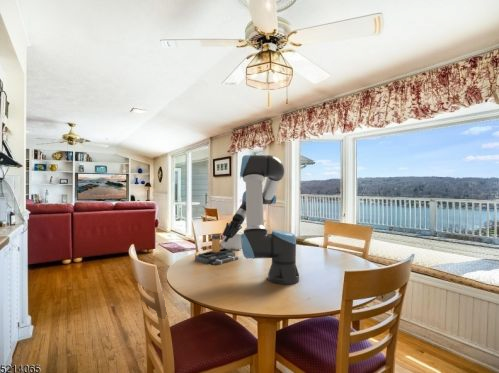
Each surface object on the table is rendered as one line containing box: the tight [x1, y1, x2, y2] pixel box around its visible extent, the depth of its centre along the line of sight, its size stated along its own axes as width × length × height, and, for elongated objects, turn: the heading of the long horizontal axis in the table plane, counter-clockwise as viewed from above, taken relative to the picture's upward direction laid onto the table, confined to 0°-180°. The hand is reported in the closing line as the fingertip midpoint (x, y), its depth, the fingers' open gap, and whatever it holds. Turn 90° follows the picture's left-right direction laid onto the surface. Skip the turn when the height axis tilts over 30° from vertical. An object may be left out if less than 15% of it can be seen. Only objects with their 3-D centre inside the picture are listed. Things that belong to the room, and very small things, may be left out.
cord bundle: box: [210, 255, 239, 266], centre depth 166 cm, size 18×5×2 cm, turn 138°
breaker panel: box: [194, 247, 236, 265], centre depth 172 cm, size 22×12×4 cm, turn 138°
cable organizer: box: [221, 230, 244, 251], centre depth 201 cm, size 15×11×12 cm
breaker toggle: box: [211, 234, 221, 254], centre depth 172 cm, size 4×4×11 cm
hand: (221, 245), depth 176 cm, fingers closed
